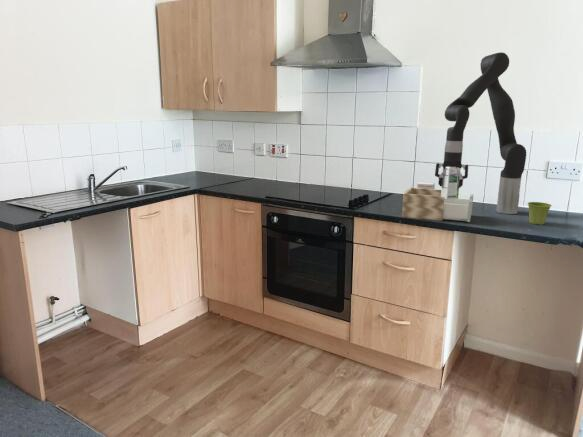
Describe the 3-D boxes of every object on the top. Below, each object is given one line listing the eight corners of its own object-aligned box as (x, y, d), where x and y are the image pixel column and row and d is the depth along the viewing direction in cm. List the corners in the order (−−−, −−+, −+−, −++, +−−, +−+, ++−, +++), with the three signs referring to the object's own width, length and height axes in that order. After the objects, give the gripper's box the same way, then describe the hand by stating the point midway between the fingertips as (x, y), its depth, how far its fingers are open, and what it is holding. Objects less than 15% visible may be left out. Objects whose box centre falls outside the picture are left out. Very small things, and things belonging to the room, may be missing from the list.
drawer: (471, 213, 225) (473, 194, 223) (469, 222, 209) (471, 201, 206) (432, 210, 231) (433, 191, 229) (427, 218, 215) (428, 198, 213)
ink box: (415, 205, 245) (416, 182, 243) (416, 203, 250) (418, 181, 247) (432, 206, 243) (434, 184, 240) (433, 205, 247) (435, 182, 244)
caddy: (446, 213, 229) (448, 190, 227) (442, 221, 213) (444, 197, 210) (408, 209, 236) (409, 187, 233) (401, 217, 220) (403, 193, 217)
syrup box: (446, 199, 215) (449, 167, 212) (440, 196, 221) (443, 165, 217) (458, 199, 216) (461, 167, 213) (451, 196, 222) (454, 165, 218)
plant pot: (553, 224, 210) (556, 205, 208) (540, 226, 205) (543, 207, 203) (533, 219, 217) (536, 201, 215) (520, 222, 213) (523, 203, 211)
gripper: (470, 151, 214) (467, 186, 218) (437, 149, 220) (434, 184, 223) (469, 152, 207) (466, 189, 211) (436, 150, 213) (433, 186, 217)
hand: (450, 186), depth 217 cm, fingers closed on syrup box, 8 cm apart
